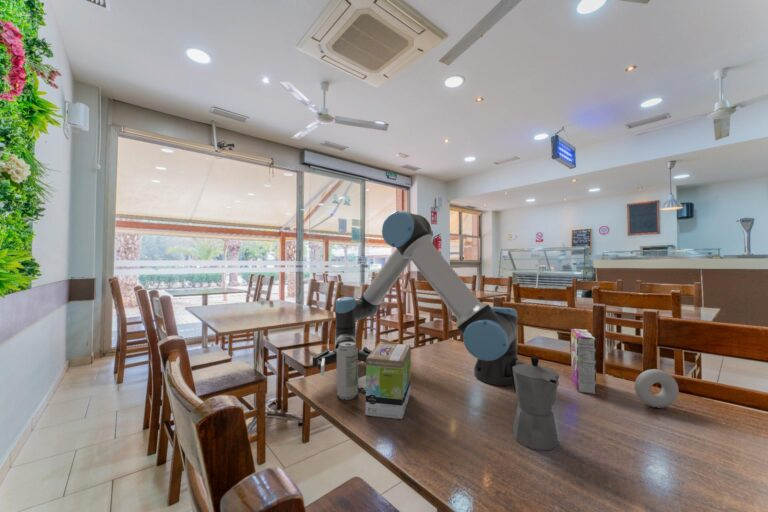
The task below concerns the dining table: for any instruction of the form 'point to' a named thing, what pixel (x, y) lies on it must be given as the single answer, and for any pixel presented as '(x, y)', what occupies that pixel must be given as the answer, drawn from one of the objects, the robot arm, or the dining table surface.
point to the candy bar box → (583, 360)
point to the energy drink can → (347, 370)
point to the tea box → (388, 380)
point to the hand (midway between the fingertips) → (346, 369)
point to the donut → (666, 393)
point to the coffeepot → (534, 404)
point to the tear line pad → (362, 383)
